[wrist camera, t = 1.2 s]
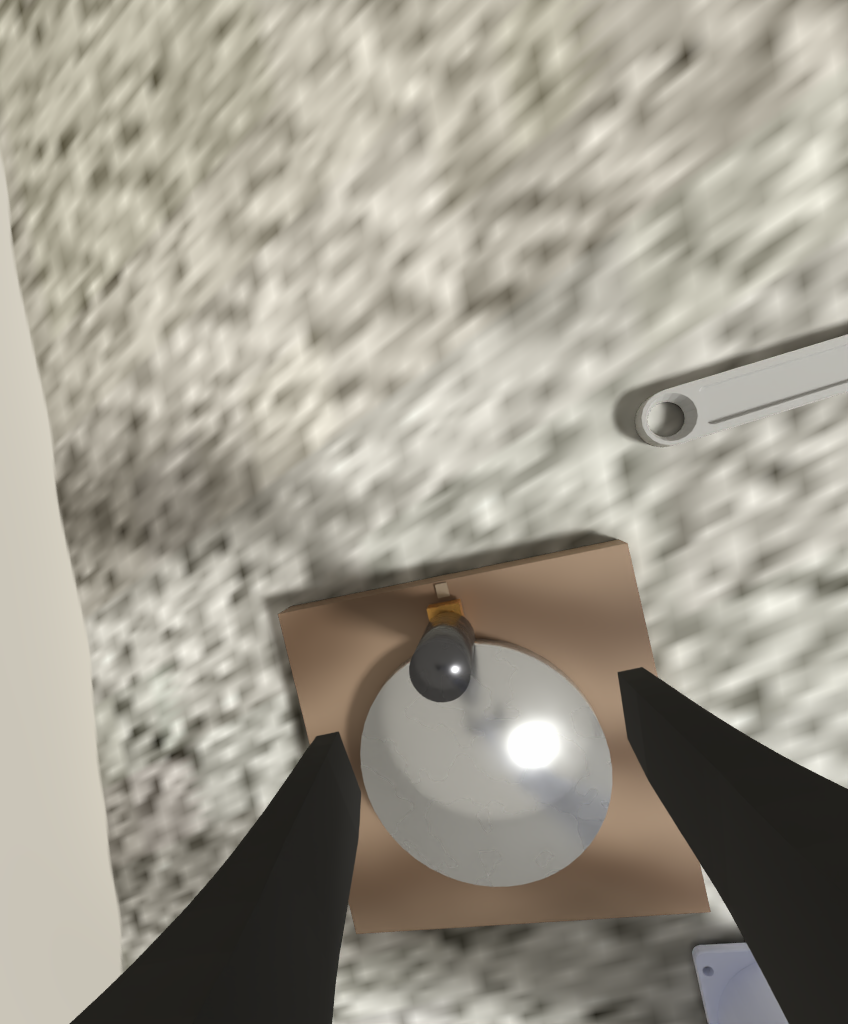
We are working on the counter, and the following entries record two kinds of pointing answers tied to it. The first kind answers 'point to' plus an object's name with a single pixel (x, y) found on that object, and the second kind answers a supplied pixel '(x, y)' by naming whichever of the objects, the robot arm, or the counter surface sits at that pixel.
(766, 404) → the adjustable wrench
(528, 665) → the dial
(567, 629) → the dial board
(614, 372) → the counter surface
